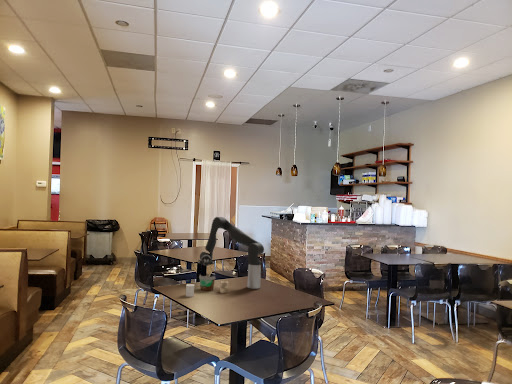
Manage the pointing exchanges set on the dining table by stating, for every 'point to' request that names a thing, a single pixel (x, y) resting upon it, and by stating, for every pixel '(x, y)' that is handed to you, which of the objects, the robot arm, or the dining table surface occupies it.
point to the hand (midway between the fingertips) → (206, 264)
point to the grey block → (190, 290)
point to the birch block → (224, 287)
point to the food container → (206, 283)
